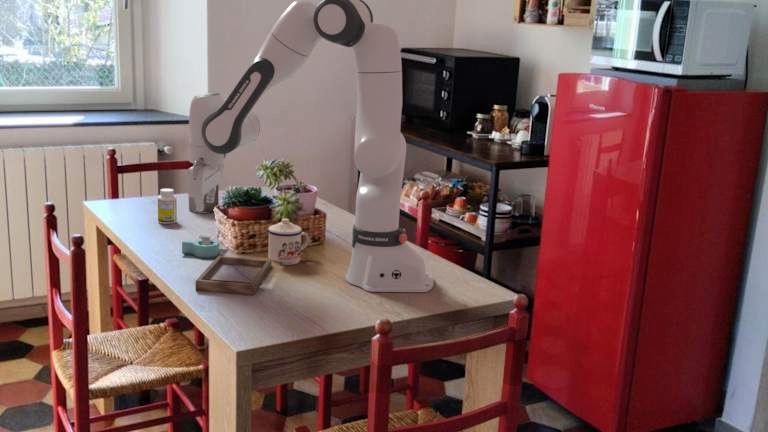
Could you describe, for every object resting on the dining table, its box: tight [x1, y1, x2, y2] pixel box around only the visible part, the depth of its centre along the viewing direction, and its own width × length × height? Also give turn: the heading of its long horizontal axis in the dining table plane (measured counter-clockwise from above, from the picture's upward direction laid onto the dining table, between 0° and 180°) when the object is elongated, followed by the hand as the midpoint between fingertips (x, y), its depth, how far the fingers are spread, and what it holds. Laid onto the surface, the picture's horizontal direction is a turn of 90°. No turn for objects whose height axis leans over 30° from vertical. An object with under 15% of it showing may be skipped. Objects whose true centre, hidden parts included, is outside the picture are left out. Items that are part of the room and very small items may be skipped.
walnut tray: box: [195, 255, 272, 296], centre depth 202 cm, size 14×20×2 cm
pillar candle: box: [187, 167, 219, 213], centre depth 265 cm, size 10×10×15 cm
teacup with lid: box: [267, 218, 310, 266], centre depth 219 cm, size 12×9×12 cm
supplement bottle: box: [157, 188, 178, 225], centre depth 248 cm, size 6×6×10 cm
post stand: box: [181, 235, 229, 261], centre depth 218 cm, size 10×10×6 cm
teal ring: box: [181, 239, 220, 257], centre depth 218 cm, size 10×6×3 cm
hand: (205, 206), depth 215 cm, fingers open, 8 cm apart
